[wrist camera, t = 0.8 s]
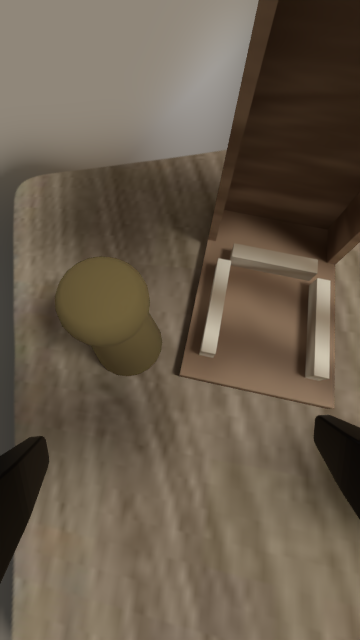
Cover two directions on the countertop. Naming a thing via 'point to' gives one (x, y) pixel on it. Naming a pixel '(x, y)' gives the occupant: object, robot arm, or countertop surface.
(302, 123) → the wooden stand
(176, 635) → the countertop surface
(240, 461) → the countertop surface
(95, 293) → the cork
